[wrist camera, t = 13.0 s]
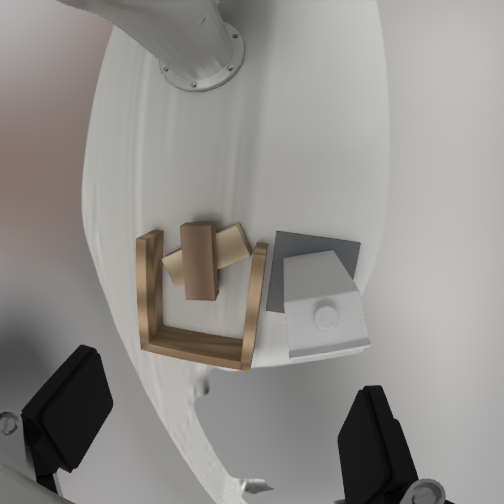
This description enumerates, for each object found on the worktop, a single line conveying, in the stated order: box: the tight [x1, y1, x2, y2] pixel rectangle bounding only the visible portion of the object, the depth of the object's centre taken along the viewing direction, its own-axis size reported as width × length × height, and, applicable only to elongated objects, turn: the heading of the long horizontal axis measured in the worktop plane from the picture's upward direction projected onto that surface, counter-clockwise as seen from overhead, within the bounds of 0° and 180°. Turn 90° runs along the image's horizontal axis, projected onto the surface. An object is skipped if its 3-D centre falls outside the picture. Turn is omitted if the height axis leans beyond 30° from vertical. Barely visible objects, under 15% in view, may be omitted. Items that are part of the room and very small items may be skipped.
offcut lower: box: [161, 223, 252, 287], centre depth 41 cm, size 4×12×3 cm, turn 114°
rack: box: [136, 230, 268, 371], centre depth 41 cm, size 18×17×6 cm
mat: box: [266, 231, 361, 313], centre depth 41 cm, size 12×12×1 cm
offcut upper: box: [180, 222, 219, 301], centre depth 38 cm, size 4×10×3 cm, turn 1°
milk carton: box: [283, 250, 371, 363], centre depth 32 cm, size 7×7×19 cm
